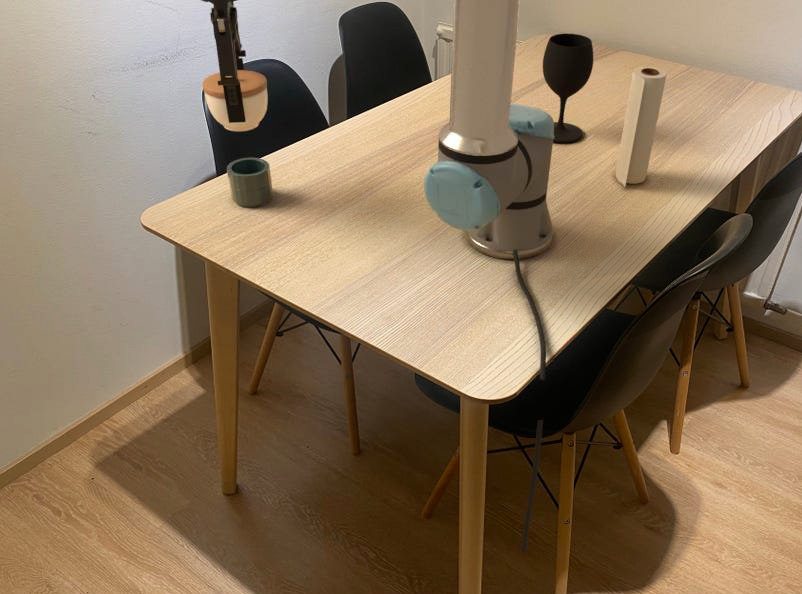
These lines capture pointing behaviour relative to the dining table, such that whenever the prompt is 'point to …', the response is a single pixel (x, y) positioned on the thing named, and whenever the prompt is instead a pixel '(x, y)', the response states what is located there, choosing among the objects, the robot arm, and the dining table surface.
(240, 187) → the grey-green hollow cylinder
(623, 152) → the paper towel roll
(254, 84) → the trinket box
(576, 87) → the wine glass
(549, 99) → the dining table surface
